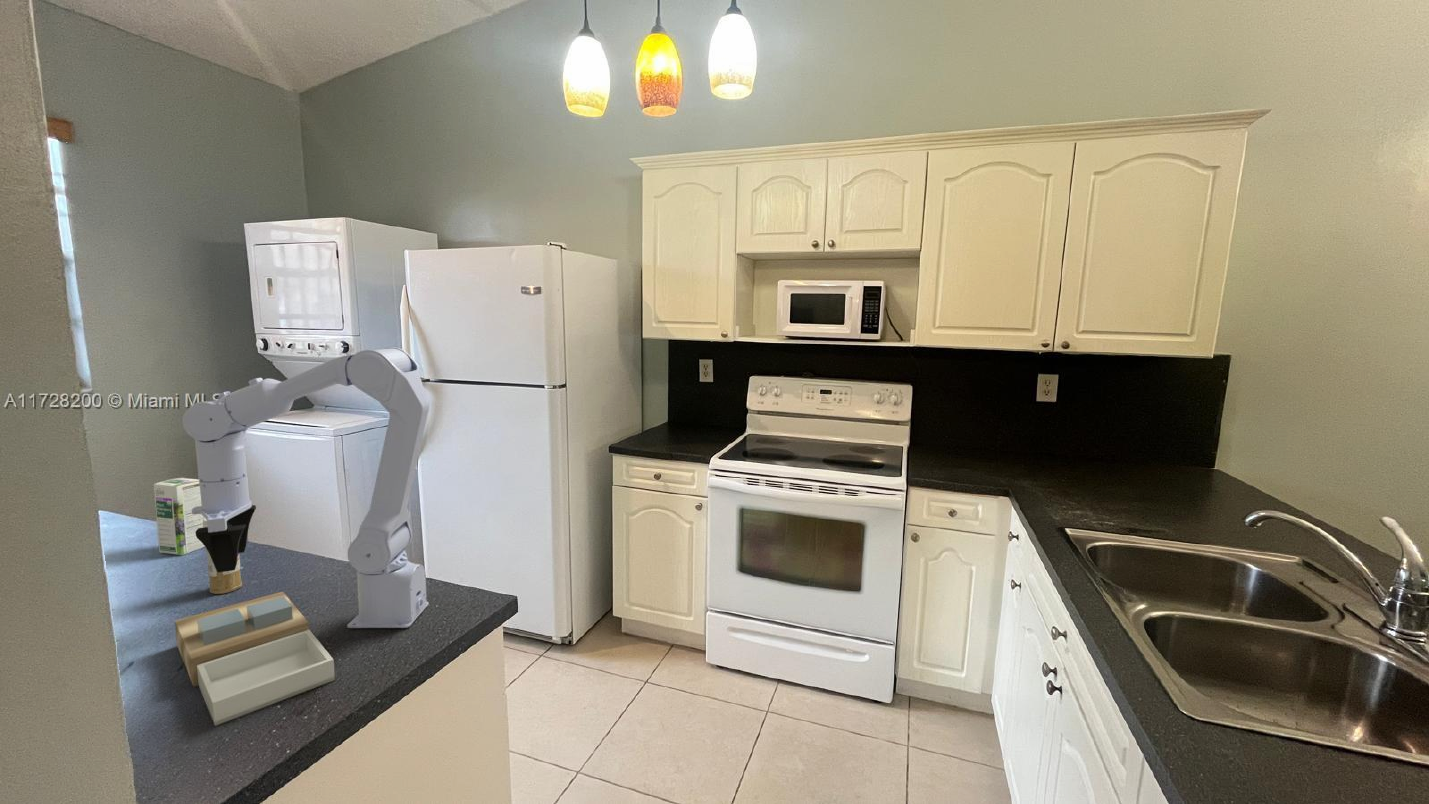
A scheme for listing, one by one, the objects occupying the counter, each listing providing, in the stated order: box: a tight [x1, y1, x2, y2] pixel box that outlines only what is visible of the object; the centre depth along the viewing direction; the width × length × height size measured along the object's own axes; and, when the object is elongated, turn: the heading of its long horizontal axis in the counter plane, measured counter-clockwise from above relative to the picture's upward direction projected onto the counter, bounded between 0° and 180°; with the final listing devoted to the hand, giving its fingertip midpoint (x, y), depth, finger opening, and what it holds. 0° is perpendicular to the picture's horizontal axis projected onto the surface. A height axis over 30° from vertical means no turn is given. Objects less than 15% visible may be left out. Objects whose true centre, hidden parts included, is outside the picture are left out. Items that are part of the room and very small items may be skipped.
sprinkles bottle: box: [203, 518, 243, 595], centre depth 102 cm, size 5×5×13 cm
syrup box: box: [153, 477, 206, 556], centre depth 118 cm, size 6×6×14 cm
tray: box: [197, 629, 336, 727], centre depth 77 cm, size 11×12×3 cm
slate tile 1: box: [197, 609, 246, 645], centre depth 82 cm, size 4×4×2 cm
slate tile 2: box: [247, 596, 293, 630], centre depth 86 cm, size 4×4×2 cm
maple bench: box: [174, 591, 310, 688], centre depth 85 cm, size 14×13×4 cm
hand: (231, 561), depth 91 cm, fingers open, 7 cm apart
